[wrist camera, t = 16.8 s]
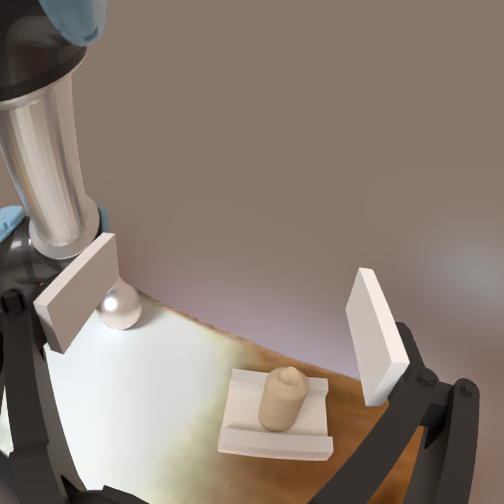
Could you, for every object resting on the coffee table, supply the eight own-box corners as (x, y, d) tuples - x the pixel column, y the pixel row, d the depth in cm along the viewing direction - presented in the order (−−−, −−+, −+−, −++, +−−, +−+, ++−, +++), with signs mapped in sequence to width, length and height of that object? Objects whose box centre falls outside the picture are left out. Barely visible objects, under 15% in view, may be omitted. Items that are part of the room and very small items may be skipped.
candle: (264, 397, 44) (275, 354, 39) (299, 408, 43) (316, 366, 38) (252, 425, 39) (261, 384, 35) (289, 437, 38) (306, 398, 33)
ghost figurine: (129, 302, 61) (124, 260, 57) (152, 328, 56) (148, 284, 51) (91, 317, 55) (81, 274, 51) (110, 346, 50) (100, 302, 45)
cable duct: (217, 451, 36) (218, 442, 34) (230, 379, 48) (231, 368, 46) (326, 460, 36) (333, 452, 34) (322, 389, 47) (327, 378, 46)
